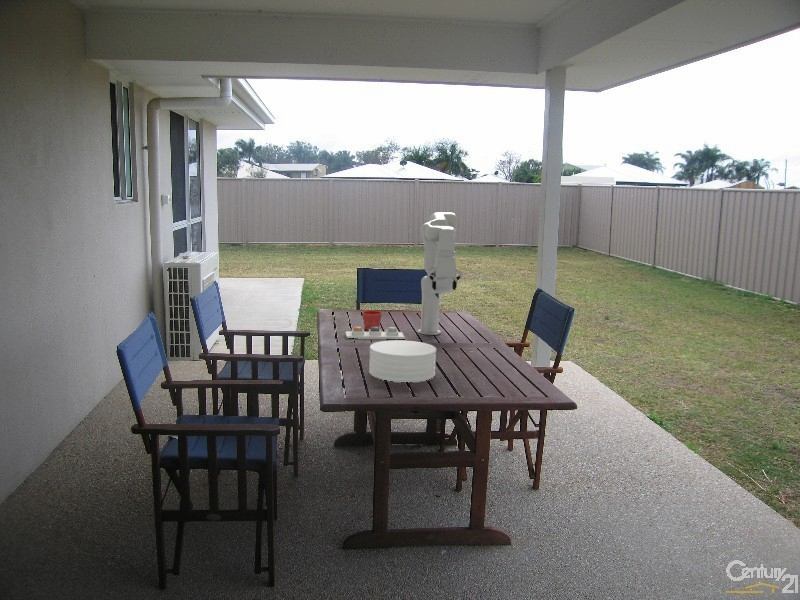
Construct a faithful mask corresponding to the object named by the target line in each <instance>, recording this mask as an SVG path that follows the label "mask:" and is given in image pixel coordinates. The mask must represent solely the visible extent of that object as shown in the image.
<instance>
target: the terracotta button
mask: <svg viewBox="0 0 800 600" xmlns="http://www.w3.org/2000/svg"><path fill="white" fill-rule="evenodd" d="M353 329H354V331H362V329H363V327H362V326H357V325H356V326H353Z"/></svg>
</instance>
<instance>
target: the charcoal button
mask: <svg viewBox="0 0 800 600" xmlns="http://www.w3.org/2000/svg"><path fill="white" fill-rule="evenodd" d="M379 329H380V326H379V327H371V331H379Z"/></svg>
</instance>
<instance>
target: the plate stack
mask: <svg viewBox="0 0 800 600" xmlns="http://www.w3.org/2000/svg"><path fill="white" fill-rule="evenodd" d="M436 353H437V347H436V346H434V345H432V344H429V343H427V342H421V341H417V340H416V341H415V340H406V339H405V340H381V341H376V342H374V343H371V344H370V346H369V366H368V368H369V370H368V373H370V374H371V375H372V376H374V377H377V378H379V379H378V380H380V379H382V380H381V381H384V380H387V381H386V382H390V381H393V382H392V383H401V382H408V383H409V382H413V383H422V382H427V381H430V380H432V379H434V378H435V377H436V363H437V361H436V359H437V354H436ZM370 374H369V375H370ZM371 375H370V376H371ZM372 376H371V377H372ZM434 376H435V377H434ZM374 377H373V378H374ZM433 377H434V378H433ZM377 378H376V379H377ZM431 378H432V379H431ZM429 379H430V380H429ZM426 380H427V381H426ZM421 381H422V382H421ZM408 383H407V384H408ZM409 384H410V383H409Z"/></svg>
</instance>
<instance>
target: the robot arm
mask: <svg viewBox="0 0 800 600" xmlns="http://www.w3.org/2000/svg"><path fill="white" fill-rule="evenodd" d="M428 220H429V221H428V222H425V223H423V224H422V225H421V227H420V235H421V239H422V243H423V246H424V257H423V258H424V260H423V261H424V263H423V265H424V266H423V267H424V271H425V272H426V274H427V275H425V276H423V277H422V278H421V280H420V285H421V287H420V289H421V313H420V314H421V315H420V328H419V329H417V333H418V334H421V335H429V336H434V335H436V336H437V335H440V334H442V332H441V331H442V330H440V329H439V315H440V300H439V298H438V296H437V295H436V294H451V293H452V292H453V291H456V289H457V286H458V285H457V284H458V281H459V280H460V279H461V277H462V276H463V272H462V271H461V270H459V269H457V264H456V262H457V261H456V257H455V255H457V254H458V252H457V251H455V240H456V237H457V227H458V217H457V215H456V214H455V213H454V212H443V211H441V212H434V213H432V214H430V216H429V219H428ZM432 273H433V274H432ZM457 274H458V275H457Z"/></svg>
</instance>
